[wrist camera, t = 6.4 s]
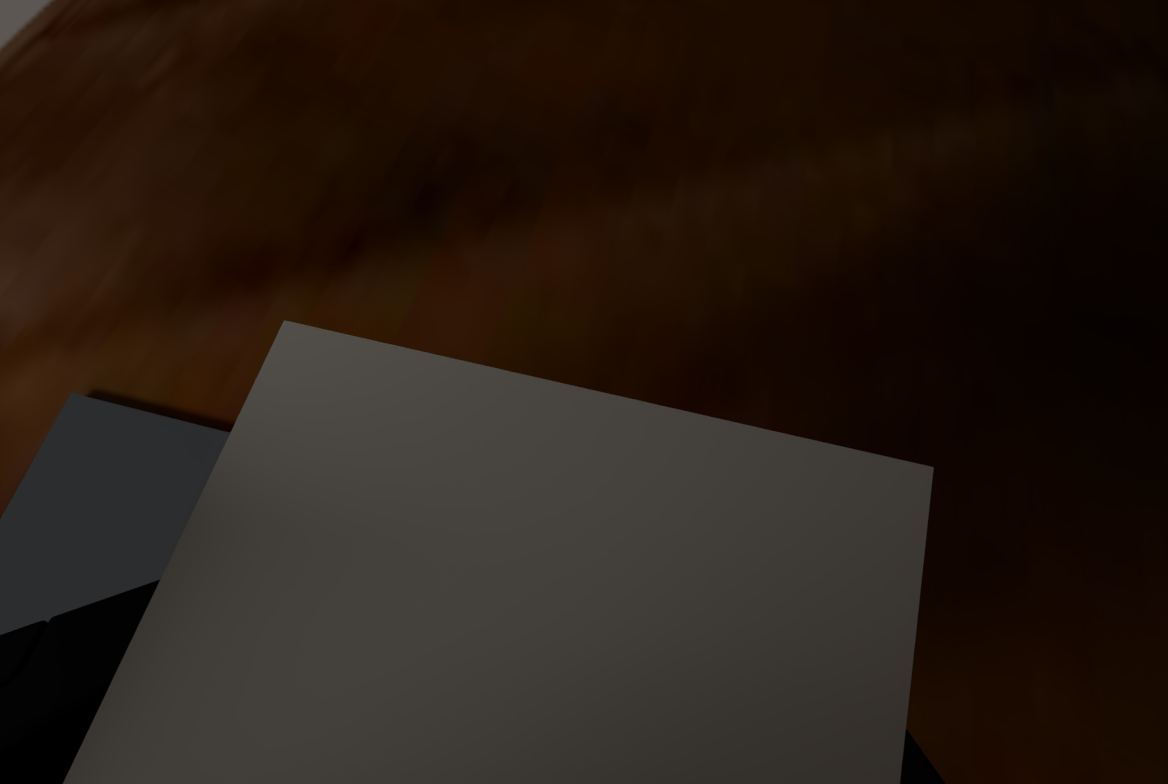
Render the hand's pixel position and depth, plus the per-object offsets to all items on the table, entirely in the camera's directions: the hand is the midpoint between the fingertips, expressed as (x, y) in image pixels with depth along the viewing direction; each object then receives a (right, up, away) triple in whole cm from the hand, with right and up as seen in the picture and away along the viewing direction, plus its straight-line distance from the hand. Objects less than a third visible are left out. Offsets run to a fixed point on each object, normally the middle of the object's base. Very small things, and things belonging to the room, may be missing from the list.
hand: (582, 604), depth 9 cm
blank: (0, -4, +6) cm, 7 cm away
